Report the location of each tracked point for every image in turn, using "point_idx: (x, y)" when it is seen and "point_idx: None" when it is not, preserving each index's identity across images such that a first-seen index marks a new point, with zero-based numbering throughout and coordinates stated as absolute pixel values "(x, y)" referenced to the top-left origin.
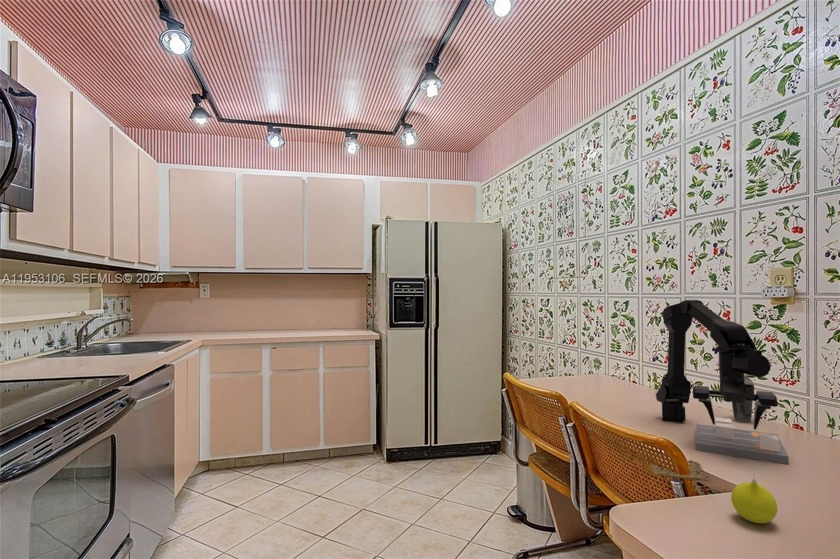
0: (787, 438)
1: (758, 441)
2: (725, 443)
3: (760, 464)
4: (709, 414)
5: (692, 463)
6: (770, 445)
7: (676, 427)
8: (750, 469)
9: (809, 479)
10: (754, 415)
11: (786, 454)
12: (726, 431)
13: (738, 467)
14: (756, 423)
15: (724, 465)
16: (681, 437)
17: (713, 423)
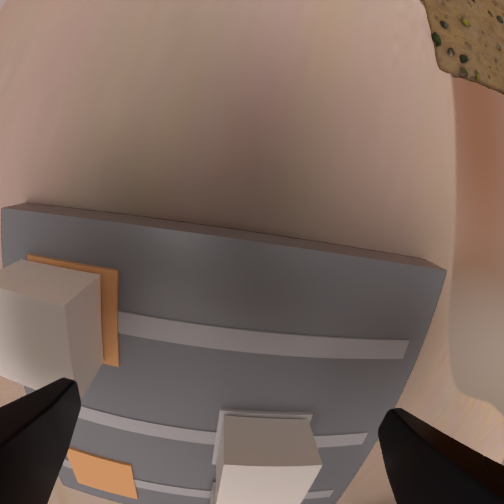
0: (55, 483)
1: (95, 363)
2: (287, 333)
3: (143, 135)
4: (471, 450)
5: (458, 43)
6: (37, 275)
7: (378, 490)
8: (220, 34)
9: (21, 43)
10: (27, 496)
11: (4, 241)
12: (261, 446)
13: (275, 42)
14: (26, 403)
15: (339, 53)
16: (414, 410)
17: (402, 411)
